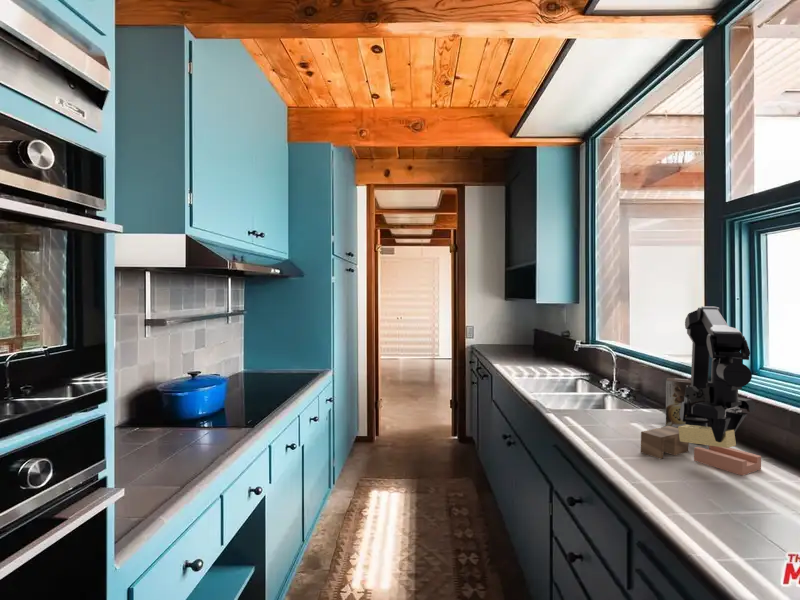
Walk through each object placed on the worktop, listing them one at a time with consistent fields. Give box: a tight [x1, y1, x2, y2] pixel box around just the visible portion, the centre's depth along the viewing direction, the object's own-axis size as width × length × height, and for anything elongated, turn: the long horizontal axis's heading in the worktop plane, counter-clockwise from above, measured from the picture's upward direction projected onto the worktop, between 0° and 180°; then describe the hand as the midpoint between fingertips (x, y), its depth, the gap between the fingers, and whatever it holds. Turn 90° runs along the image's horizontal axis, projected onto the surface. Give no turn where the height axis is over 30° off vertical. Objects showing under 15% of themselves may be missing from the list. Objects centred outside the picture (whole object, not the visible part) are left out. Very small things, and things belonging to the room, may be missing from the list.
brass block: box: [677, 425, 737, 448], centre depth 125 cm, size 12×4×4 cm, turn 29°
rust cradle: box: [693, 445, 762, 476], centre depth 128 cm, size 9×12×4 cm
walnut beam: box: [640, 426, 690, 460], centre depth 138 cm, size 13×6×6 cm, turn 119°
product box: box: [664, 377, 691, 428], centre depth 165 cm, size 9×6×16 cm
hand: (723, 440), depth 121 cm, fingers closed on brass block, 4 cm apart
